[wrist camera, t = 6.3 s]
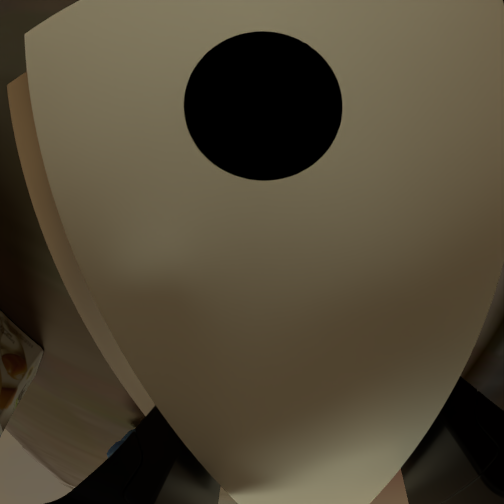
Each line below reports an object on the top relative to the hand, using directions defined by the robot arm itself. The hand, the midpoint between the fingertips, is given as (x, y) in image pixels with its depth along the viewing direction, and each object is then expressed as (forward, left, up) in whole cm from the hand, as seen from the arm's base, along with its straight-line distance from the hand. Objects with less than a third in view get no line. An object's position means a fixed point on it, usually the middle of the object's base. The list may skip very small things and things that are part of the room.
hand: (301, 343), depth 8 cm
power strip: (0, 0, -3) cm, 3 cm away
